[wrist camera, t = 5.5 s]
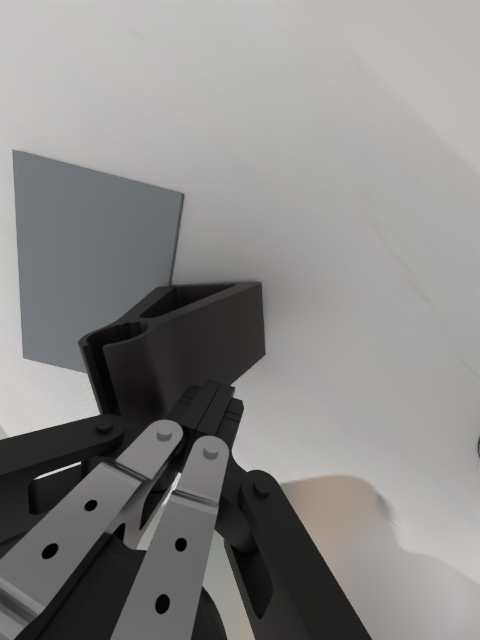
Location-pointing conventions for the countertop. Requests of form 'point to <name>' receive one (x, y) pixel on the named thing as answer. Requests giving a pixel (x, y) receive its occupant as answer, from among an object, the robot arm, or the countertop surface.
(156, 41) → the countertop surface
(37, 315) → the mat
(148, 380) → the phone stand
